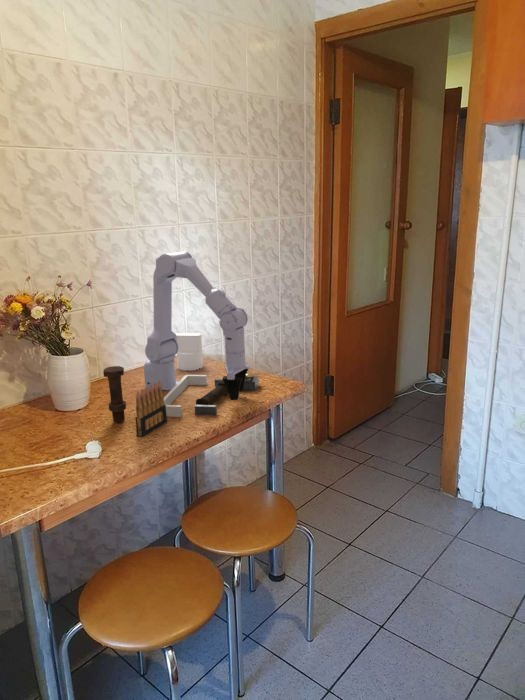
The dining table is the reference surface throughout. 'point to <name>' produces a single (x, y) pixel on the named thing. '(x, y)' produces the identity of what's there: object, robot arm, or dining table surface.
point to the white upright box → (189, 351)
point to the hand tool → (213, 395)
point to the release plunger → (248, 376)
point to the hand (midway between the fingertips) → (237, 395)
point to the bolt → (116, 392)
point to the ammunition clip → (150, 410)
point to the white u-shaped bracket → (176, 391)
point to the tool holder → (212, 409)
